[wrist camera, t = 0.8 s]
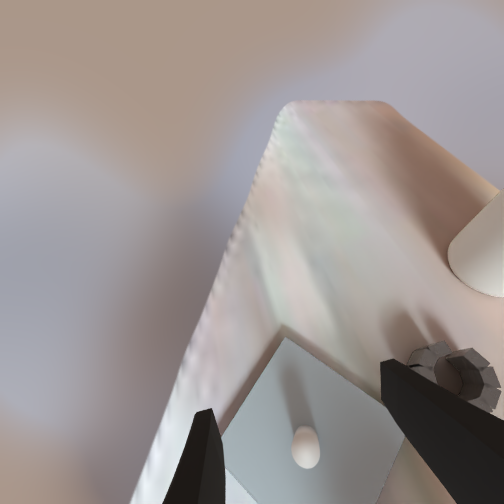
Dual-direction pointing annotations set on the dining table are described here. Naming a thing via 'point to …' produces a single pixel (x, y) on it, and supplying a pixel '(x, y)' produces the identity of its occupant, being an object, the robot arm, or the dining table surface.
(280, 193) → the dining table surface
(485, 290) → the milk bottle
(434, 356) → the split ring
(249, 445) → the stand
